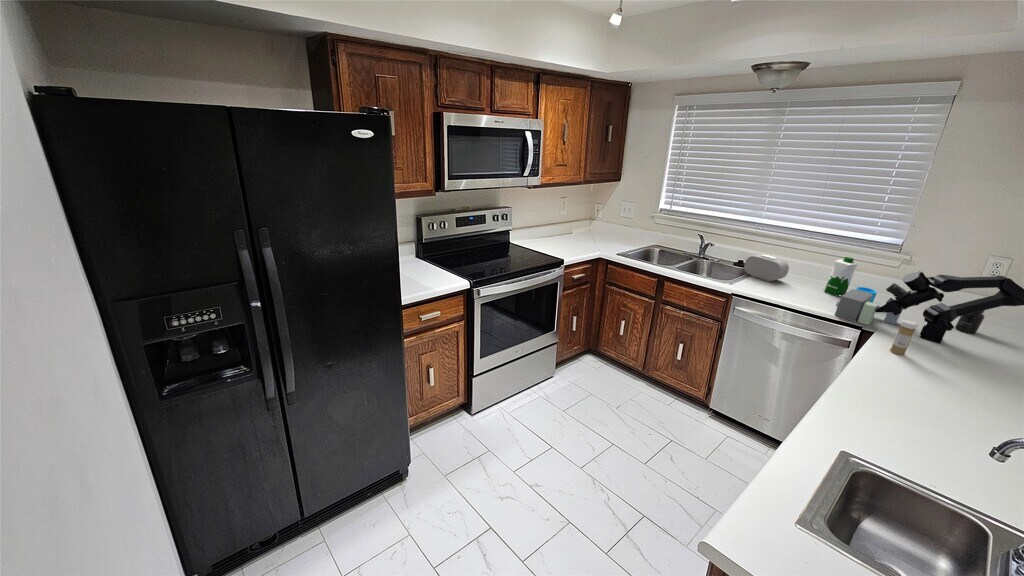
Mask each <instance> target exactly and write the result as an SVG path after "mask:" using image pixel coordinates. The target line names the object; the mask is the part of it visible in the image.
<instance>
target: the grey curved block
mask: <svg viewBox="0 0 1024 576" xmlns="http://www.w3.org/2000/svg"><path fill="white" fill-rule="evenodd" d="M856 289H857V288H856ZM856 289H855V288H852V289H850V290H849V291H848V290H847V292H846V293H845V294H844V295H842V296H840V299H839V300H838V301H839V304H838V307H837V306H836V310H835V312H834V316H835V317H839V318H840V319H845V320H847V321H851V322H854V323H855V322H856V321H858V318H859V317H860V314H861V313H859V311H860V308H863V307H864V304H865V303H866V302H870V300H871V298H872V295H873V294H871V293H867V292H863V291H860V290H856Z"/></svg>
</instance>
